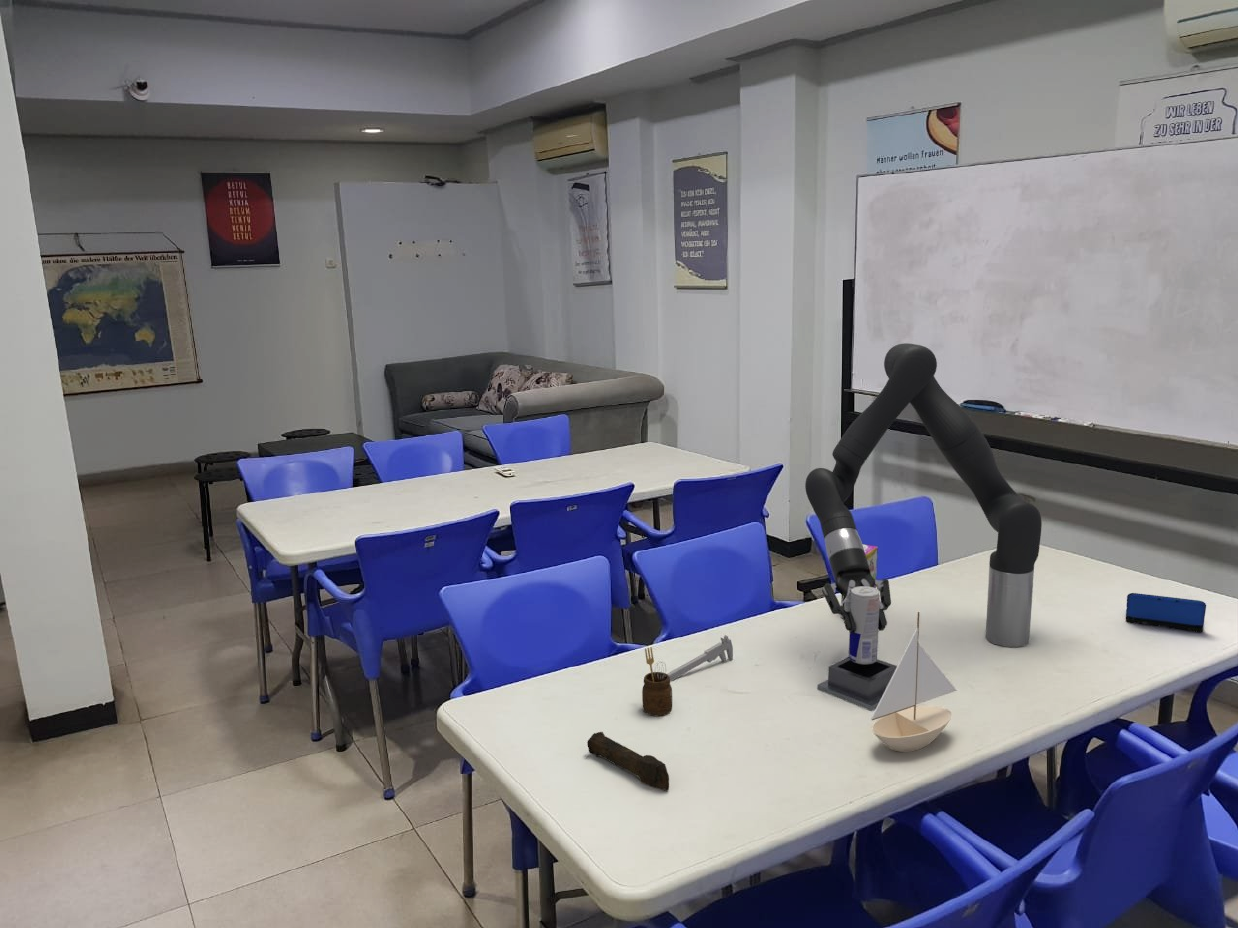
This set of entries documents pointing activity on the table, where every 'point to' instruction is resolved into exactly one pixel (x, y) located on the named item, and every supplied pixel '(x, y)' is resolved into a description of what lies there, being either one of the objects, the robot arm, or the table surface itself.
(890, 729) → the toy sailboat
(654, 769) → the hand tool
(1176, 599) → the handheld game console
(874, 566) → the candy bar box
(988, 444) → the robot arm
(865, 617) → the beverage can
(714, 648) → the caliper
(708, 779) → the table surface
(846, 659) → the dark grey square holder
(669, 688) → the utensil holder
